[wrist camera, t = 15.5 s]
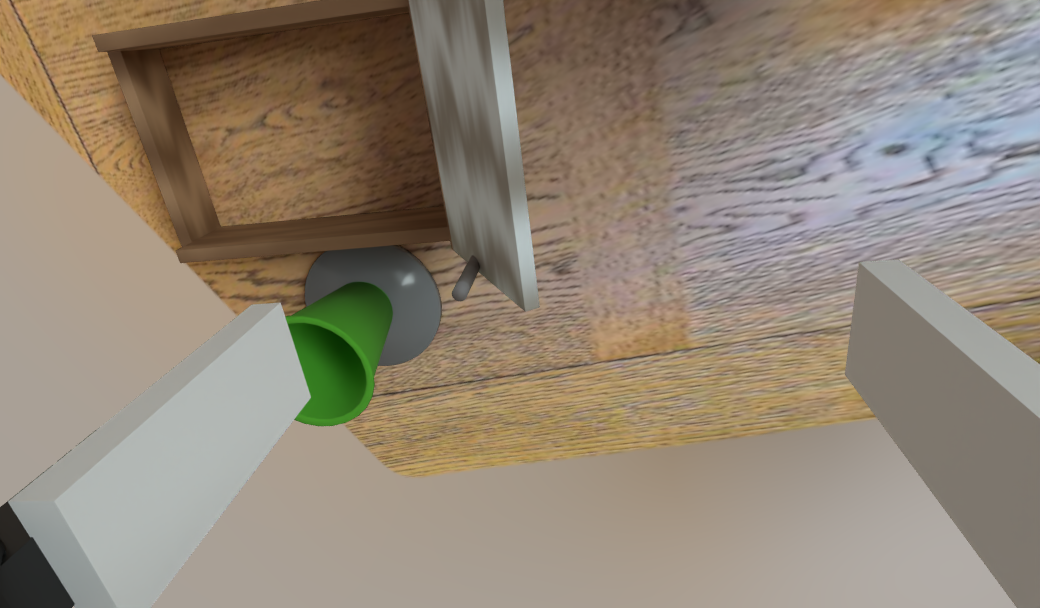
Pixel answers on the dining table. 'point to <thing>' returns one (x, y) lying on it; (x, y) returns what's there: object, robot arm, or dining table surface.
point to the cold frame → (453, 124)
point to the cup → (340, 351)
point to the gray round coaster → (398, 280)
